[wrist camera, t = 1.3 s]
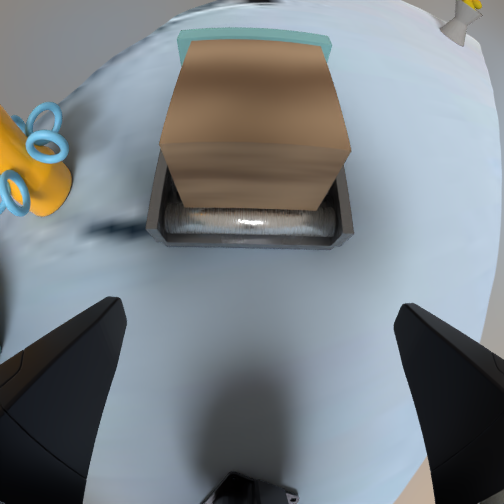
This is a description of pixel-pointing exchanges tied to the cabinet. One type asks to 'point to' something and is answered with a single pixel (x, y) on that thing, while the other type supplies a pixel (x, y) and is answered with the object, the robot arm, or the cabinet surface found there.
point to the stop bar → (251, 37)
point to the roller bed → (240, 239)
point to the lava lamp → (462, 20)
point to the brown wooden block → (254, 126)
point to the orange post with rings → (32, 164)
